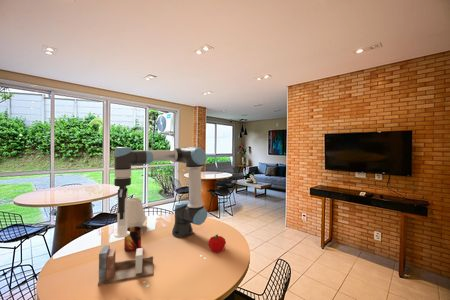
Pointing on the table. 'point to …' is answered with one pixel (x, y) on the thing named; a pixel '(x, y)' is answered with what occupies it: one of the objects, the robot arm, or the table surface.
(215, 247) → the apple
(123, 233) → the white round flared column
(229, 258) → the table surface
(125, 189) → the robot arm
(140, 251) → the bookend
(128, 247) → the mug
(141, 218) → the vase
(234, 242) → the table surface
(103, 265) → the rack
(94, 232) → the table surface
